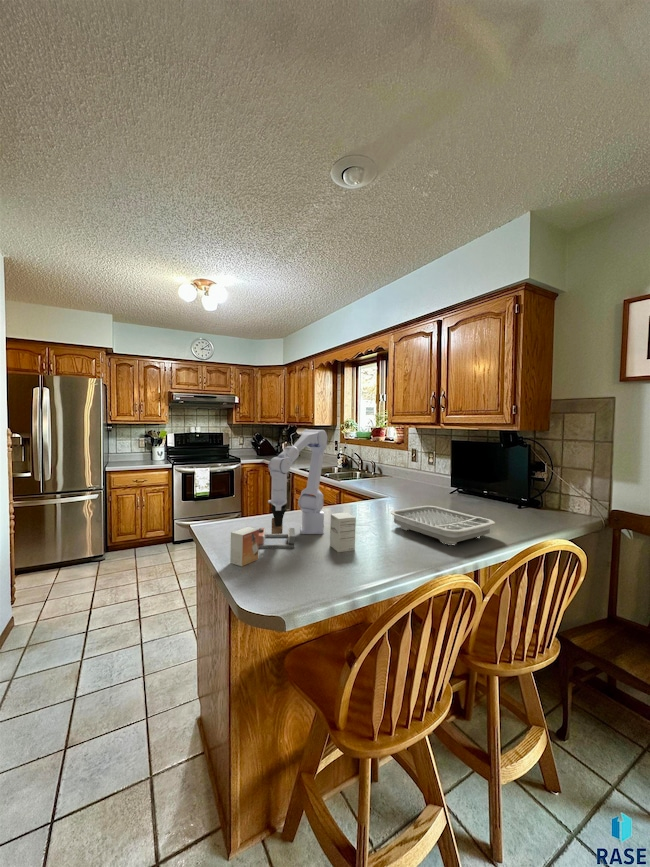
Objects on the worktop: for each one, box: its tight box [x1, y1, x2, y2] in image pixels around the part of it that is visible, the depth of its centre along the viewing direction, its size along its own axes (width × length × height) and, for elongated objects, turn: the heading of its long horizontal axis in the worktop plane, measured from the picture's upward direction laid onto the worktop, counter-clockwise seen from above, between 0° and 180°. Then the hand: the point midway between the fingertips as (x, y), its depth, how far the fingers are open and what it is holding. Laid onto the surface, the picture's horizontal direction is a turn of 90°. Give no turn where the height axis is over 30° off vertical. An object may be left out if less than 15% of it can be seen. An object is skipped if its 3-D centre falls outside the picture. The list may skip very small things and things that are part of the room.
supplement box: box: [329, 512, 357, 553], centre depth 133 cm, size 7×7×13 cm
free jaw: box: [258, 527, 266, 545], centre depth 137 cm, size 2×10×5 cm, turn 6°
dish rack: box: [390, 505, 496, 545], centre depth 154 cm, size 32×37×8 cm
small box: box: [229, 526, 260, 567], centre depth 118 cm, size 8×6×10 cm
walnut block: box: [271, 517, 284, 534], centre depth 133 cm, size 4×4×5 cm
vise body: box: [258, 527, 296, 550], centre depth 137 cm, size 17×13×4 cm
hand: (278, 524), depth 133 cm, fingers closed on walnut block, 4 cm apart
